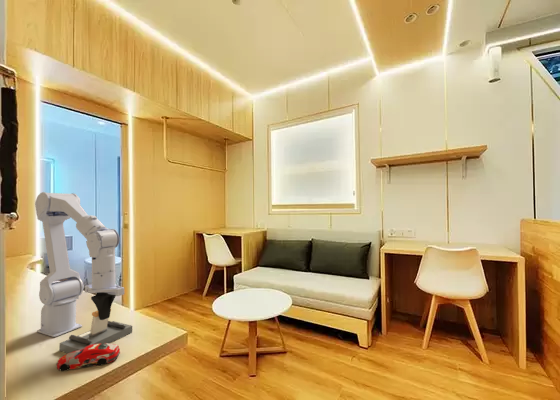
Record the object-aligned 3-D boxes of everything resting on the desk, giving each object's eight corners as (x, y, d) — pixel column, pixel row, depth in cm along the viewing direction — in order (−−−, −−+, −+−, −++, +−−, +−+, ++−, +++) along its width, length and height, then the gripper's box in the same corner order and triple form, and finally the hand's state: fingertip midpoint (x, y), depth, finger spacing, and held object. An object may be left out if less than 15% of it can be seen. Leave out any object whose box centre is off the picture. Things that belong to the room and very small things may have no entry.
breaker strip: (59, 350, 71) (59, 338, 71) (112, 327, 85) (113, 317, 85) (80, 357, 68) (80, 345, 68) (132, 332, 82) (132, 321, 82)
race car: (51, 374, 62) (51, 357, 62) (63, 361, 67) (63, 345, 67) (115, 365, 65) (115, 348, 65) (121, 353, 70) (121, 338, 71)
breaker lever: (87, 336, 75) (91, 312, 74) (104, 328, 79) (108, 306, 79) (91, 338, 74) (95, 314, 74) (108, 330, 79) (111, 308, 78)
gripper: (73, 273, 75) (73, 321, 75) (106, 276, 70) (107, 327, 69) (98, 268, 82) (98, 312, 81) (130, 270, 76) (131, 317, 76)
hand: (104, 318), depth 76 cm, fingers closed, pressing on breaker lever
